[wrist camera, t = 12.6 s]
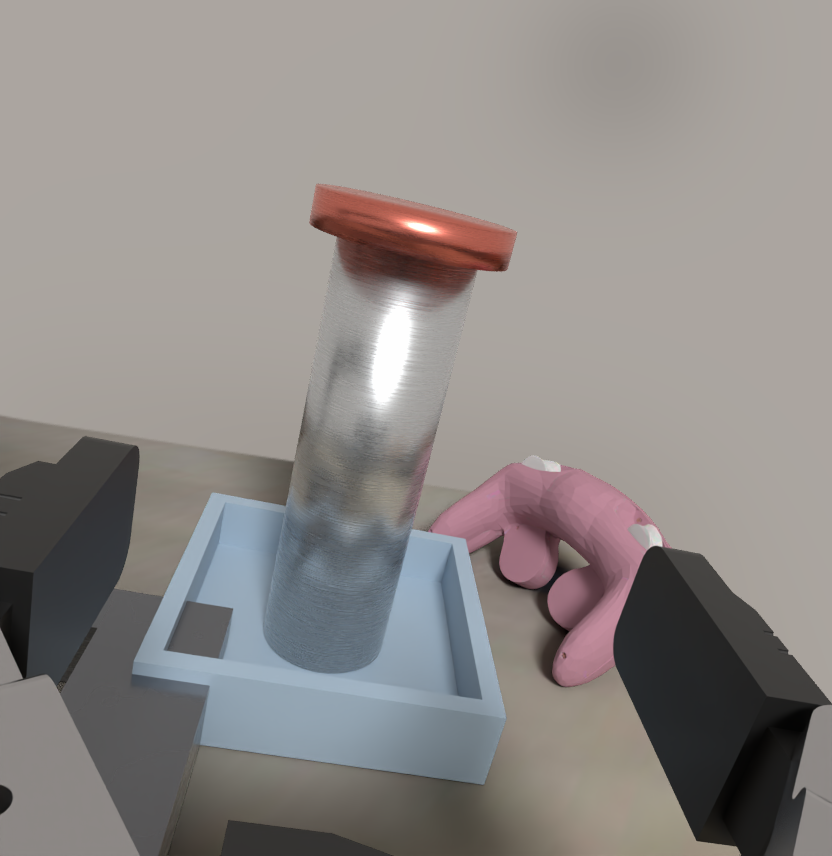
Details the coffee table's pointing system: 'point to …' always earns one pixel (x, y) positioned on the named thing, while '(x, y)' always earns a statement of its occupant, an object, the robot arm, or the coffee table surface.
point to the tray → (343, 692)
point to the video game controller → (538, 550)
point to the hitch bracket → (142, 711)
